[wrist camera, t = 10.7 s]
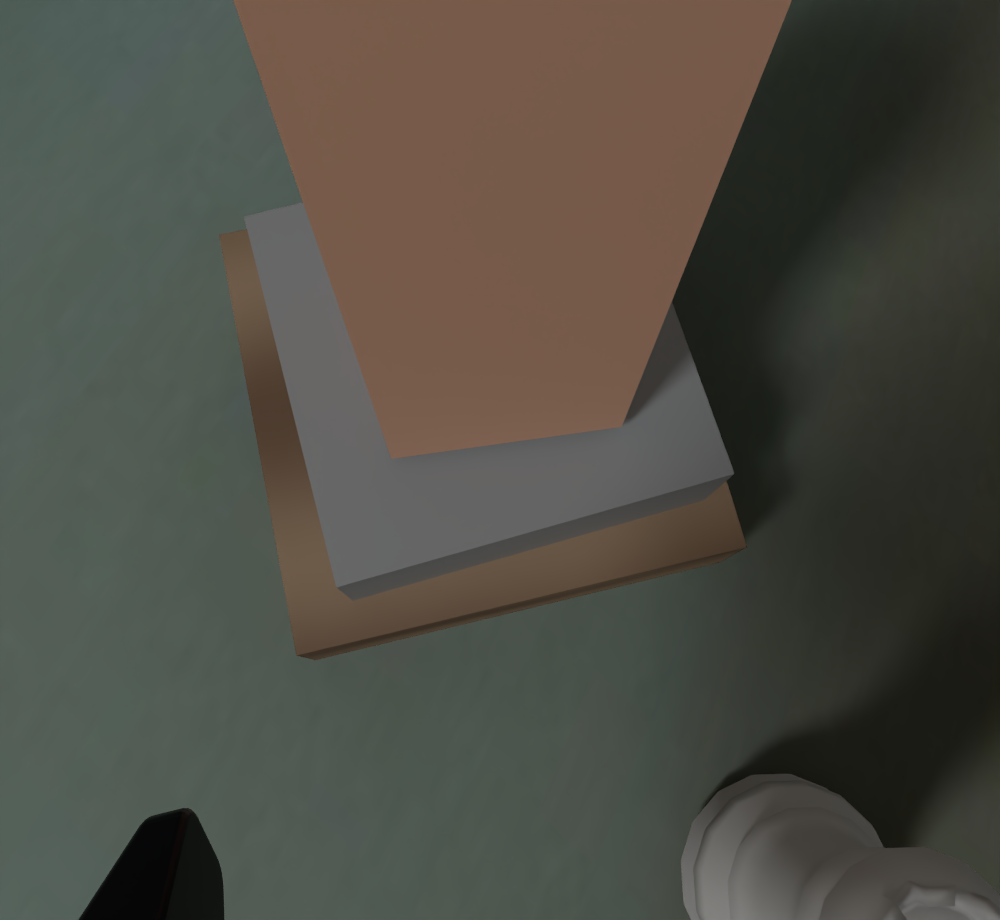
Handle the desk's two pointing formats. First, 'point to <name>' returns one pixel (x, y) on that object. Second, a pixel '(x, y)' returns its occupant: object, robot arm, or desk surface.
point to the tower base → (454, 596)
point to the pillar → (506, 190)
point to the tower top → (473, 471)
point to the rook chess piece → (815, 862)
